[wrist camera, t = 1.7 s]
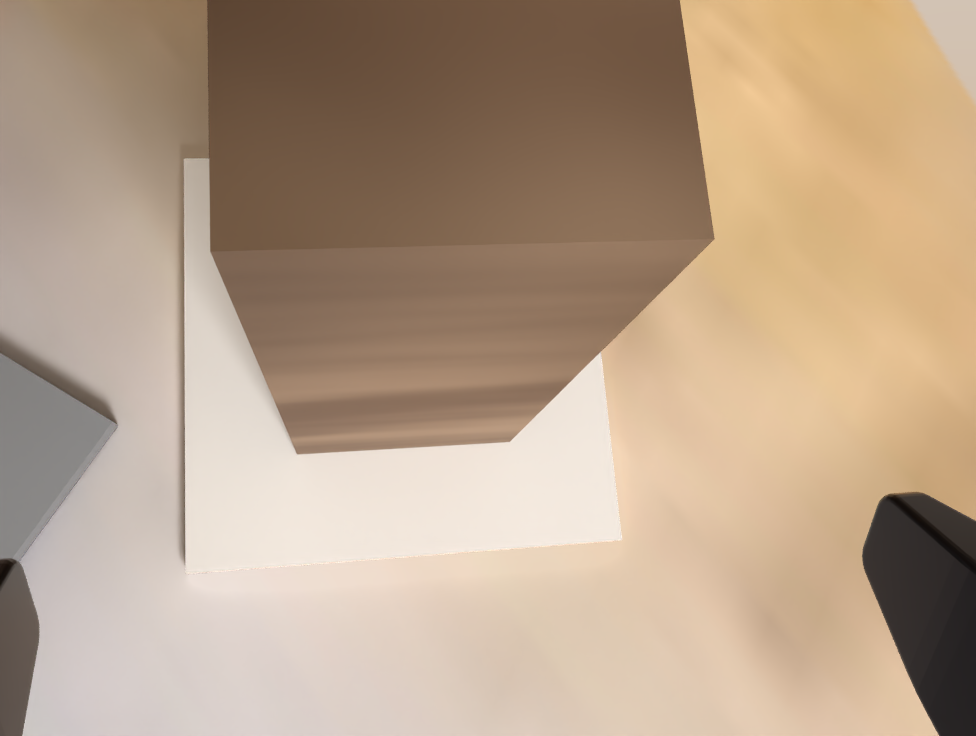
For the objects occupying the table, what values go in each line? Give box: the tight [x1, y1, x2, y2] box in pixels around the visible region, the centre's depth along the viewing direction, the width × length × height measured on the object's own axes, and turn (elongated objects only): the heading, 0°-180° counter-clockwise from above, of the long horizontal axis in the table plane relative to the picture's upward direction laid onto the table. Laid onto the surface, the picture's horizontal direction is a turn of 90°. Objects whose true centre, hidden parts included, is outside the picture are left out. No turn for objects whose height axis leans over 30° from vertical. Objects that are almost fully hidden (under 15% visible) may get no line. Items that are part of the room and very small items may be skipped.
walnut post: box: [207, 0, 714, 454], centre depth 16 cm, size 5×5×13 cm
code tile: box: [184, 158, 622, 574], centre depth 22 cm, size 10×10×1 cm
